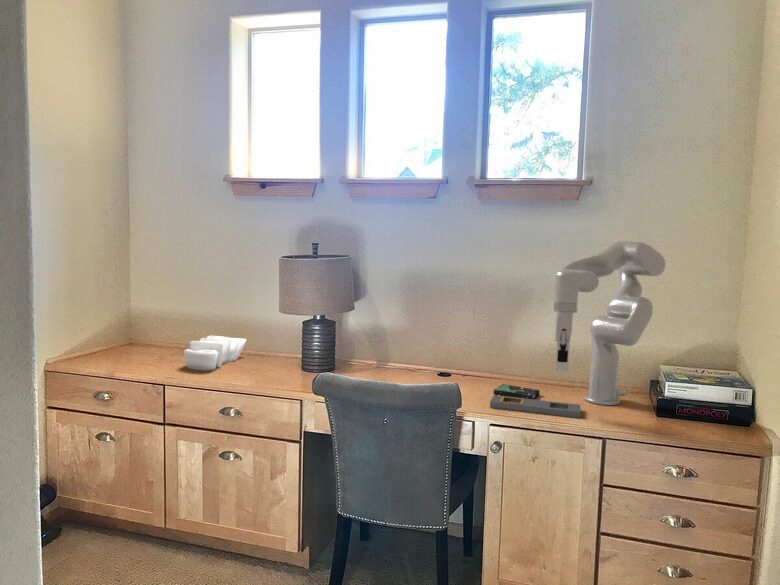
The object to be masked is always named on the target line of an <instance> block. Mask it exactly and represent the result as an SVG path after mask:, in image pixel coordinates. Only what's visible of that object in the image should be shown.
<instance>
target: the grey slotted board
mask: <svg viewBox="0 0 780 585" xmlns="http://www.w3.org/2000/svg"><path fill="white" fill-rule="evenodd" d="M490 407H491V408H490ZM489 408H490V409H497V408H500V409H499V410H506V409H508V411H514V410H515V411H517V412H523V413H533V414H541V415H550V416H557V417H569V418H575V419H580V418H581V404H577V403H568V402H561V401H560V402H559V401H551V400H550V401H549V400H543V399H542V400H541V399H525V398H516V397H507V396H498V395H493V396H492V398H491V400H490V401H489ZM515 411H514V412H515Z"/></svg>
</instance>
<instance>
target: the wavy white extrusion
mask: <svg viewBox="0 0 780 585" xmlns="http://www.w3.org/2000/svg"><path fill="white" fill-rule="evenodd" d="M247 340H248V339H247V338H241V337H240V338H239V337H230V336H222V335H213V334H212V335H211V334H210V335H207V336H206V337H201V338H200V339H199V340H191V341H189V348H186V349H183V353H184V360H185V361H184V362H185V366H186V368H187V369H191V370H195V371H203V372H204V371H205V372H206V371H214V370H216V368H221V366H222V364H225V363H231V362H233V361H234V360H238V358H239V357H240V355H241V353H242V350H243V349H244V347H245V345H246V344H245V343H246V342H247Z"/></svg>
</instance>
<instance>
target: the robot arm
mask: <svg viewBox="0 0 780 585" xmlns="http://www.w3.org/2000/svg"><path fill="white" fill-rule="evenodd" d="M665 269H666V260H665V258H664V256H663V255H662V253H660V252H659V251H657V250H656V249H655V248H654V247H652V246H651V245H650V244H647V243H645V242H642V241H629V240H628V241H627V240H625V241H624V240H623V241H621V240H620V241H616V242H614V243H613V244H610V246H608V247H606V248H605V249H604V250H602V251H601V252H599V253H598V254H594V255H591V256H587V257H585V258H581V259H578V260H575V261H572V262H570V263H569V264H567V265H566V266H564V267H563V268H562V269H561V270H560V271H557V272H556V274H555V284H554V285H555V286H554V288H555V289H554V306H553V312H555V313H556V317H555V318H556V319H555V332H554V334H555V337H554V340H555V342H557V340H559V350H558V362H567V359H568V351H567V346H568V342H569V341H571V336H572V333H573V332H572V330H573V322H574V320H573V319H574V314H575V313H576V314H577V313H578V300H579V298H578V297H579V292H580V293H591V292H594V291H595V290H596V289H597V288H598V286H599V282H600V280H599V278H604V277H607V276H611V275H612V274H613V273H615V272H617V271H618V272H619V285H618V286H617V289H616V290H615V292H614V293H613V295H612V297H611V298H610V300H609V302H608V304H607V306H606V307H607V308H606V313H607V315H599V316H596V317H595V318H593V319H592V321H591V323H590V329H589V331H590V337H591V339H590V340H591V357H590V358H591V360H590V372H589V384H588V385H589V386H588V393H587V394H584V397H583V398H584V399H583V400H585V401H586V402H588V403H592V404H594V405H595V404H596V405H602V406H617V405H619V404H620V403H621V399H620V398H619V397H620V396H621V397H623V396H627V395H628V392H627V390H625V389H624V390H620V389H617V387H618V372H619V358H620V355H619V350H618V348H617V345H621V346H625V347H631V346H634V345H636V344H637V343H639V342H638V341H639V340H640V339H641V337H642V335H643V333H644V331H645V330H646V328H647V327H648V325H649V323H650V321H651V319H652V316H653V311H654V308H653V303H652V301H651V300H650V299H649V298H646V297H643V296H642V292H643V287H642V283H641V282H640V281H639V279H638V277H637V276H646V277H659V276H660V275H661V274H663V273H664V272H665ZM561 340H562V341H561ZM565 340H567V341H565ZM565 343H566V344H565ZM560 349H561V350H560Z"/></svg>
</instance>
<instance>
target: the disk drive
mask: <svg viewBox="0 0 780 585" xmlns="http://www.w3.org/2000/svg"><path fill="white" fill-rule="evenodd" d="M540 393H541V392H540V389H536V388H528V387H524V386H523V387H522V386H517V385H511V384H504V383H503V384H501V385H500V384H499V386H498V387H496V388H494V389H493V394H495V395H500V396H507V397H516V398H525V399H534V400H536V399H537V398H538V397H540Z"/></svg>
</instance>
